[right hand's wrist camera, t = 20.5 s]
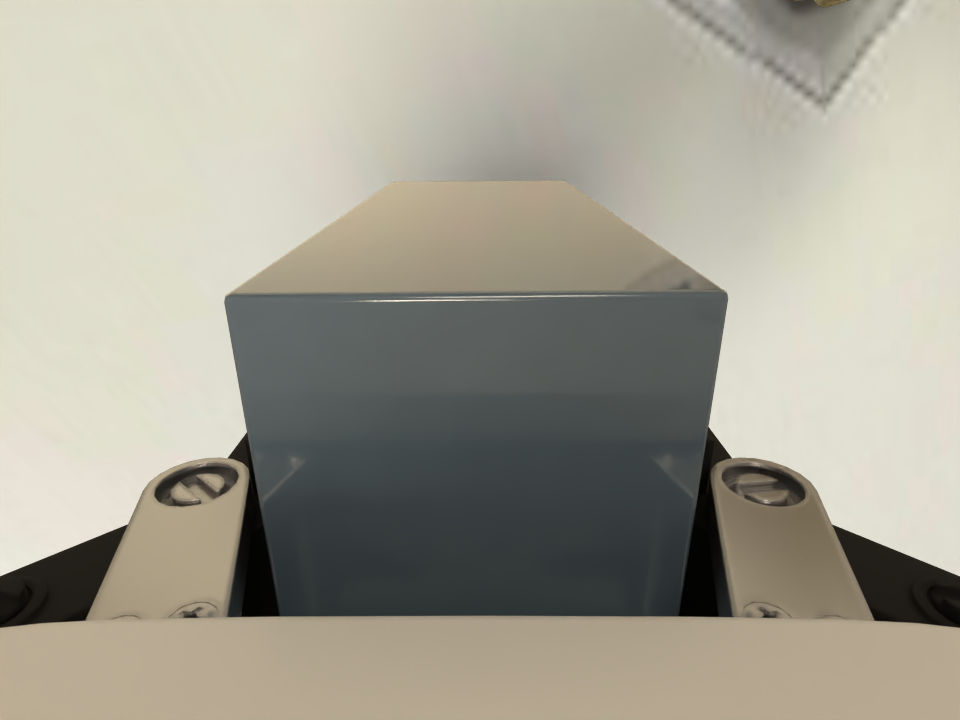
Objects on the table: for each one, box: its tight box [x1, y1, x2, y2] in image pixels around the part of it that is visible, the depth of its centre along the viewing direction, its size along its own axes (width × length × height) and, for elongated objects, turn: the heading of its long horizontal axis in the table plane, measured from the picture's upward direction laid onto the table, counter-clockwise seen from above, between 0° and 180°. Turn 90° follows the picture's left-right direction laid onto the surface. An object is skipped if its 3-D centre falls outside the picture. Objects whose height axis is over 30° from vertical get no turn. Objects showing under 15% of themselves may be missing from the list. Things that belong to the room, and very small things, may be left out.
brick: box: [224, 181, 728, 617], centre depth 12 cm, size 5×8×11 cm, turn 1°
